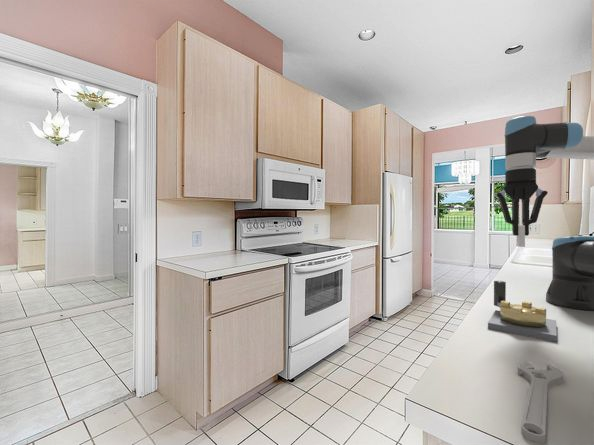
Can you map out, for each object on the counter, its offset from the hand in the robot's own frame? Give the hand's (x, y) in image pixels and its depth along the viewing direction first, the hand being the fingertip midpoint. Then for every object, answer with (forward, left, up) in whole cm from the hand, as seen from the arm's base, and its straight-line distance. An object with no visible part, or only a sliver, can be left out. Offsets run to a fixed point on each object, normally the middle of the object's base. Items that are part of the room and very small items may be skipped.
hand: (520, 246), depth 91 cm
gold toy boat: (+8, +5, -19) cm, 21 cm away
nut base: (+8, +6, -21) cm, 23 cm away
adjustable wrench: (+38, +33, -22) cm, 55 cm away
